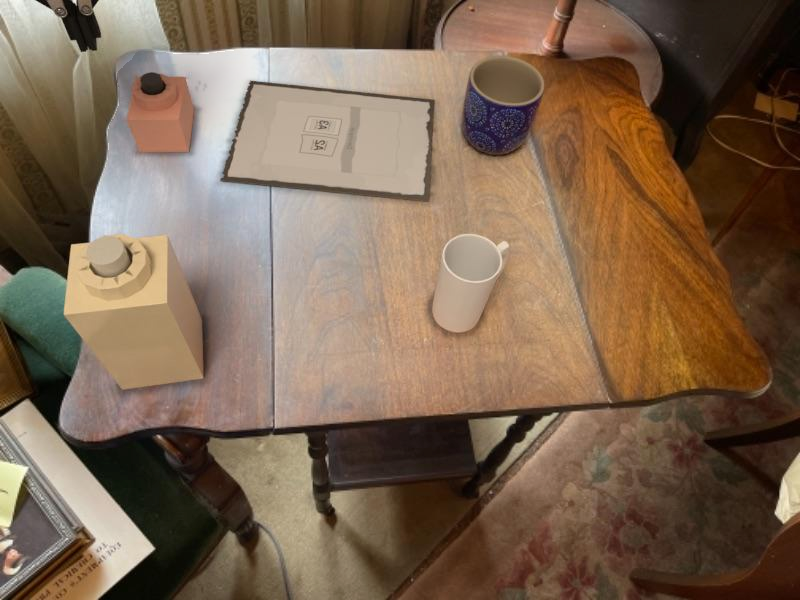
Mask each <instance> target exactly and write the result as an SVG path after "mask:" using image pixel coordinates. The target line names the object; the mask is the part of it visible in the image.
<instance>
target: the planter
mask: <svg viewBox="0 0 800 600" xmlns="http://www.w3.org/2000/svg"><path fill="white" fill-rule="evenodd" d="M545 87H546V85H545V79H544V77H543V76H542V74H541V73H540V71H539V70H538V69H537V68H536V67H535V66H534V65H532V64H530V63H529V62H527V61H525V60H523V59H522V58H517V57H513V56H509V55H493V56H488V57H485V58H482V59H480V60H479V61H477V62H476V63H475V64H474V65H473V66H472V67H471V69H470V72H469V75H468V78H467V83H466V88H465V93H464V98H463V104H462V111H461V130H462V132H463V135H464V137H465V138H466V140H467V141H468V143H469V144H470V145H471V146H472V147H473V148H474V149H475V150H477V151H480V152H481V153H484V154H487V155H491V156H499V155H505V154H508V153H511V152H513V151H515V150H516V149H518V148H519V147H520V146H521V145H522V144H523V143H524V142H525V141H526V139H527V138H528V135H529V134H530V131H531V129H532V127H533V125H534V122H535V119H536V117H537V114H538V112H539V109H540V105H541V102H542V99H543V97H544V92H545V89H546V88H545Z"/></svg>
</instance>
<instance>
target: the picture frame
mask: <svg viewBox="0 0 800 600" xmlns="http://www.w3.org/2000/svg"><path fill="white" fill-rule="evenodd" d="M248 84H249V85H248V86H247V89H246V90H247V91H246V92H245V95H244V96H245V97H244V103H243V104H242V108H241V110H240V112H239V115H238V116H239V118H238V119H237V120H238V121H237V125H236V130H234V133H235V136H234V137H233V139H231V141H232V143H231V146H230V149H229V150H228V154H229V155H228V156H227V159H226V160H225V163H224V168H223V171H222V174H223V177H221V178H220V180H219V181H221V182H231V183H241V184H251V185H260V186H261V185H262V186H272V187H281V188H289V189H299V190H301V189H302V190H311V191H322V192H332V193H342V194H352V195H360V196H363V195H364V196H372V197H381V198H382V197H383V198H392V199H401V200H414V201H423V202H430V199H431V197H430V196H431V193H430V192H431V179H432V156H433V155H432V151H433V133H434V115H435V114H434V113H435V99H430V98H421V97H411V96H404V95H403V96H402V95H394V94H393V95H392V94H383V93H375V92H374V93H373V92H365V91H363V92H362V91H356V90H355V91H353V90H345V89H335V88H328V87H327V88H324V87H316V86H306V85H297V84H288V83H278V82H269V81H258V80H249V82H248Z"/></svg>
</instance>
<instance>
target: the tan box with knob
mask: <svg viewBox="0 0 800 600" xmlns="http://www.w3.org/2000/svg"><path fill="white" fill-rule="evenodd" d="M104 236H113V237H116V238H118V239H120V240H121V241H122V243H123V244H124V246H125V248H126V250H127V252H128V254H129V256H130V265H129V267H128V268H127V269H126V271H124V272H123V273H122V274H120V275H117V276H114V277H104V276H101V275H99V274H98V273H97V272H96V271H95V269H94V268H93V266H92V265H91V263H90V261H89V260H88V258H87V255H86V251H87V248H88V246H89V245H90V244H91V243H92V242H93V241H94V240H92V241H90V242H82V243H72V244H70V251H69V260H68V261H69V262H68V269H67V280H66V288H65V297H64V306H63V316H64V318H65V319H66V321H68V323H69V324H70V325H71V327H73V329H74V330H75V332H76V333H77V334H78V335H79V336H80V338H81V339H82V340H83V342H84V343H85V344H86V346H87V347H88V348H89V349H90V351H91V352H92V353H93V354H94V356H95V357H96V358H97V360H98V361H99V362H100V363H101V365H102V366H103V367H104V368H105V370H106V371H107V372H108V373H109V375H110V376H111V377H112V379H113V380H114V381H115V382H116V383H117V385H118V386H119V387H120V389H121V390H122V391H123V390H131V389H137V388H145V387H152V386H154V387H155V386H159V385H167V384H168V385H169V384H174V383H183V382H189V381H194V380H195V381H196V380H203V379H204V378H205V377H204V338H203V319H202V316H201V313H200V312H199V309H198V307H197V304H196V302H195V299H194V297H193V294H192V292H191V289H190V286H189V284H188V281H187V279H186V277H185V274H184V272H183V270H182V267H181V265H180V262H179V259H178V257H177V255H176V252H175V249H174V247H173V245H172V242H171V240H170V237H169V235H168V234H162V235H153V236H143V237H142V236H141V237H133V236H129V235H127V234H124V233H117V234H115V233H114V234H106V235H102V236H101V237H104Z"/></svg>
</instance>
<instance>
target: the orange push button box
mask: <svg viewBox="0 0 800 600" xmlns="http://www.w3.org/2000/svg"><path fill="white" fill-rule="evenodd" d="M158 74H159V75H160V76H161V78H162V81H163V84H164V91H163V92H162V93H160V94H157V95H147V94H146V93H145V92H144V90H143V87H142V84H141V82H140V78H141V77H142V75H139V76H137V75H135V78H134V82H133V83H132V86H131V97H130V101H129V106H128V110H127V115H126V122H127V125H128V127H129V129H130V132H131V134H132V137H133V139H134V142H135V145H136V147H137V150H138V153H189V152H190V148H191V147H190V146H191V138H192V133H193V131H192V130H193V124H194V118H195V117H194V116H195V107H194V103H193V100H192V96H191V92H190V88H189V85H188V81H187V77H186V76H170V75H166V74H163V73H158Z"/></svg>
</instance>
